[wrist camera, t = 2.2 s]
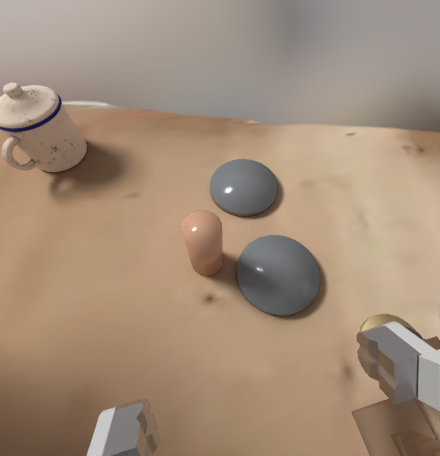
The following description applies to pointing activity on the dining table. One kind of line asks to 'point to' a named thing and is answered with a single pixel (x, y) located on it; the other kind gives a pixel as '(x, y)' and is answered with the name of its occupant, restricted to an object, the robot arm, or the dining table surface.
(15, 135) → the teacup with lid
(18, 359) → the dining table surface
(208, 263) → the peach shift knob
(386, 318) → the balance
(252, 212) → the dish
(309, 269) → the dish
